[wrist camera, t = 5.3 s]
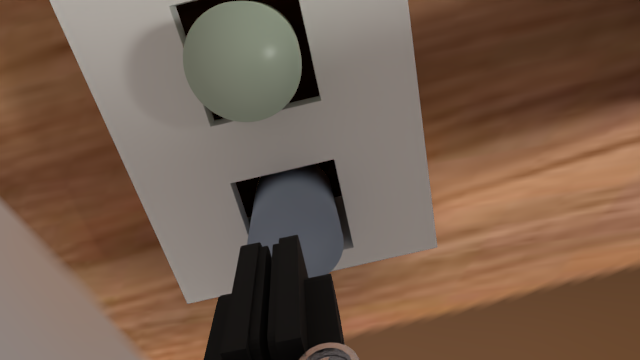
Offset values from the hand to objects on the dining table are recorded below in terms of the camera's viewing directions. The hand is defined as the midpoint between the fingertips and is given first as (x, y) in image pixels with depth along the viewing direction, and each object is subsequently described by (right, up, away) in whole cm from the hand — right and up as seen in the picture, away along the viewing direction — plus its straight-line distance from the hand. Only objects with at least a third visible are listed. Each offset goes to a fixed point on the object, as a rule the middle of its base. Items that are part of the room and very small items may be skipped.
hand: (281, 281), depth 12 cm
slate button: (0, +2, +10) cm, 10 cm away
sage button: (-2, +9, +6) cm, 11 cm away
